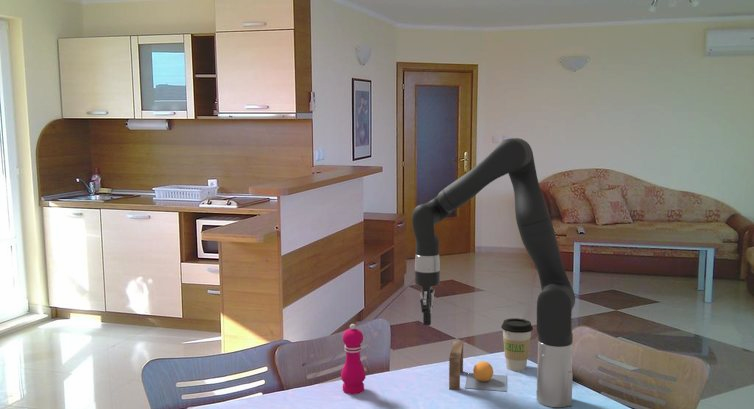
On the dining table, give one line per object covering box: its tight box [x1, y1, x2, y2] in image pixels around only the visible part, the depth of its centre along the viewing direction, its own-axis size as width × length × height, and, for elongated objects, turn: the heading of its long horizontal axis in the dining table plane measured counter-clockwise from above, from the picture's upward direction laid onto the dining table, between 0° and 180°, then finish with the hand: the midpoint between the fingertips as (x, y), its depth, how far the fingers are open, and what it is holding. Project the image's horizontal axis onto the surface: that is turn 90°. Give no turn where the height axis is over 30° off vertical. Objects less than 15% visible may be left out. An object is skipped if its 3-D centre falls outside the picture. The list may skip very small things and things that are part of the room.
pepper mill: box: [340, 323, 367, 395], centre depth 184 cm, size 7×7×20 cm
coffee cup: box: [501, 317, 533, 372], centre depth 201 cm, size 10×10×15 cm
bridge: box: [448, 340, 464, 391], centre depth 191 cm, size 3×15×10 cm, turn 168°
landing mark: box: [464, 372, 507, 392], centre depth 190 cm, size 12×12×1 cm
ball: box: [472, 360, 494, 382], centre depth 191 cm, size 6×6×6 cm
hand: (427, 324), depth 192 cm, fingers closed
